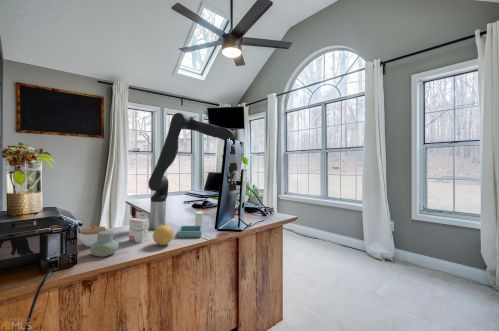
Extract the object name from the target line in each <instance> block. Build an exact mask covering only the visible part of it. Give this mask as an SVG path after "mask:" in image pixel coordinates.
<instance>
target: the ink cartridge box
mask: <svg viewBox="0 0 499 331" xmlns="http://www.w3.org/2000/svg"><path fill="white" fill-rule="evenodd" d="M135 212H136V213H135V217H133V218H130V219H129V232H128V233H129V236H128V242H135V243H140V244H143V243H145V242H147V241H148V240H149V214H150V213H148V212H140V211H135Z"/></svg>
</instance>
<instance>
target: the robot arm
mask: <svg viewBox="0 0 499 331" xmlns="http://www.w3.org/2000/svg"><path fill="white" fill-rule="evenodd" d="M182 130H189V131H195V132H198V133H200V134H202V135H206V136H208V137H212V138H217V139H220V140H223V141H224V142H225V139H229V138H230V140H232V141H233V144H232V145H231V152H230V154H231V155H230V166H229V173H228V172H226V183H227V184H228V191H229V192H234V191H237V173H235V172H237V171H238V160H237V153H236V134H235V132H234V131H232V130H231V129H230V128H226V127H222V126H218V125H215V124H211V123H207V122H203V121H198V120H196V119H194V118H192V117H190V116H188V115H187V114H184V113H183V112H177V113H174V114H173V115H172V118H171V119H170V124H169V127H168V131H167V134H166V138H165V140H164V143H163V146H162V148H161V151H160V155H159V157H158V160H157V162H156V165H155V167H154V168H153V171H152V173H151V175H150V177H149V180H148V188H149V190H151V191H155V192H154V194H153V195H152V196H150V209H149V210H150V211H149V212H150V213H148V214H149V228H148V230H155V229H156V228H157V227H159V226H161V225H166V211H167V210H166V209H167V198H168V194H169V180H168V178H167V177H166V176H165V173H166V171H167V170H168V169H169V167H170V166H171V165H172V164H173V163H174V161H175V160H176V157H177V154H178V152H179V138H180V134H181V132H182ZM223 150H224V147H223ZM223 150H222V151H223ZM233 181H234V182H233Z"/></svg>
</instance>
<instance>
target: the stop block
mask: <svg viewBox="0 0 499 331" xmlns="http://www.w3.org/2000/svg"><path fill="white" fill-rule="evenodd" d="M203 219H204V212H203V211H196V212H195V219H194V220H195V224H194V226H204V224H203V223H204V222H203Z"/></svg>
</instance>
